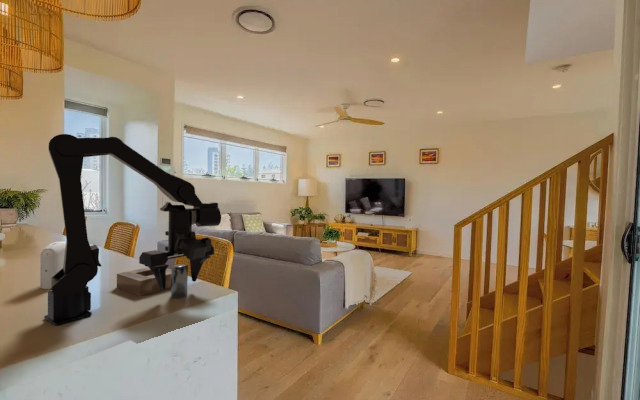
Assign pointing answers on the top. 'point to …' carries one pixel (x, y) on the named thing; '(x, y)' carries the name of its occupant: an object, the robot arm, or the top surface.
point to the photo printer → (51, 262)
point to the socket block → (141, 281)
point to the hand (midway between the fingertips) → (179, 285)
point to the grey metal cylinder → (179, 281)
